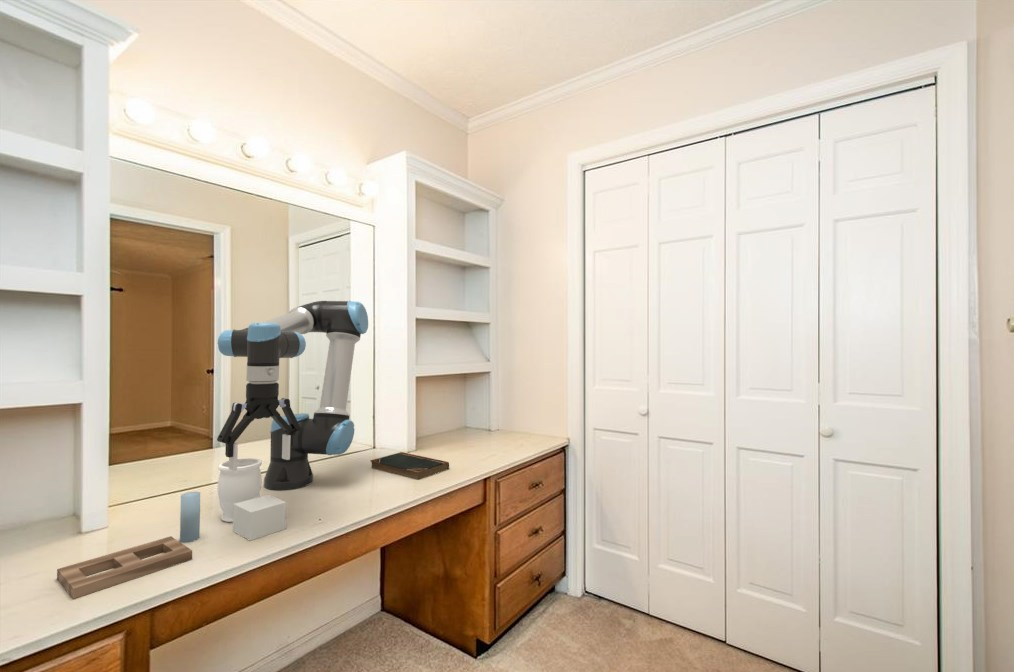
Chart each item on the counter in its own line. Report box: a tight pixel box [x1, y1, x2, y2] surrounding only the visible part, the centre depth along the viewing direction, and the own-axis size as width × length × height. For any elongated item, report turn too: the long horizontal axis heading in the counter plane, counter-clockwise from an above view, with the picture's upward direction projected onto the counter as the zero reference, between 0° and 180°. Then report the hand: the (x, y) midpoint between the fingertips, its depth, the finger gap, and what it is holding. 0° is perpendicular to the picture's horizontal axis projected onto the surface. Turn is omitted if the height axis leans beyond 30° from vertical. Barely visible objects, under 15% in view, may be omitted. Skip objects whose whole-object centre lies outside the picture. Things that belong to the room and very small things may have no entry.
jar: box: [217, 457, 263, 523], centre depth 129 cm, size 11×10×15 cm
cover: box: [232, 494, 287, 541], centre depth 121 cm, size 9×9×7 cm
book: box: [370, 451, 450, 481], centre depth 179 cm, size 17×4×25 cm
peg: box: [179, 491, 201, 543], centre depth 115 cm, size 4×4×11 cm
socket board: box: [56, 535, 193, 600], centre depth 100 cm, size 12×20×2 cm, turn 145°
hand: (260, 464), depth 121 cm, fingers open, 13 cm apart
